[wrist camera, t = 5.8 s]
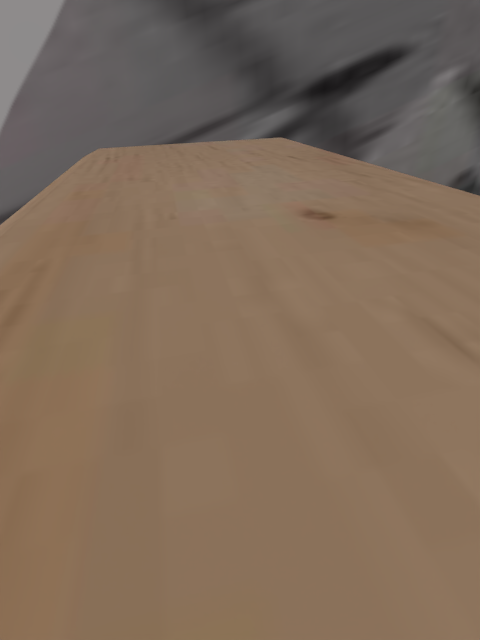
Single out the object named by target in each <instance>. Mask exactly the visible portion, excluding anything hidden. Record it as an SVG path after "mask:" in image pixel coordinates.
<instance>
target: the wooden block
mask: <svg viewBox="0 0 480 640" xmlns="http://www.w3.org/2000/svg"><path fill="white" fill-rule="evenodd" d="M0 640H480V196H478V195H474V194H471V193H468V192H464V191H461V190H457V189H454V188H451V187H447V186H444V185H440V184H437V183H434V182H430V181H427V180H424V179H420V178H417V177H413V176H410V175H407V174H403V173H400V172H396V171H393V170H390V169H386V168H383V167H379V166H376V165H373V164H369V163H366V162H363V161H359V160H356V159H352V158H349V157H346V156H342V155H339V154H335V153H332V152H329V151H325V150H322V149H318V148H315V147H312V146H308V145H305V144H302V143H298V142H295V141H291V140H288V139H285V138H267V139H250V140H234V141H217V142H201V143H184V144H167V145H151V146H134V147H118V148H101V149H97V150H96V151H94V152H92V153H90V154H88V155H87V156H85V157H83V158H82V159H81V160H79V161H78V162H77V163H76V164H75V165H73V166H72V167H71V168H70V169H68V170H67V171H66V172H65V173H64V174H62V175H61V176H60V177H59V178H57V179H56V180H55V181H54V182H53V183H51V184H50V185H49V186H48V187H46V188H45V189H44V190H43V191H42V192H40V193H39V194H38V195H37V196H36V197H34V198H33V199H32V200H31V201H29V202H28V203H27V204H26V205H25V206H23V207H22V208H21V209H20V210H18V211H17V212H16V213H15V214H14V215H12V216H11V217H10V218H9V219H7V220H6V221H5V222H4V223H3V224H1V225H0Z"/></svg>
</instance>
